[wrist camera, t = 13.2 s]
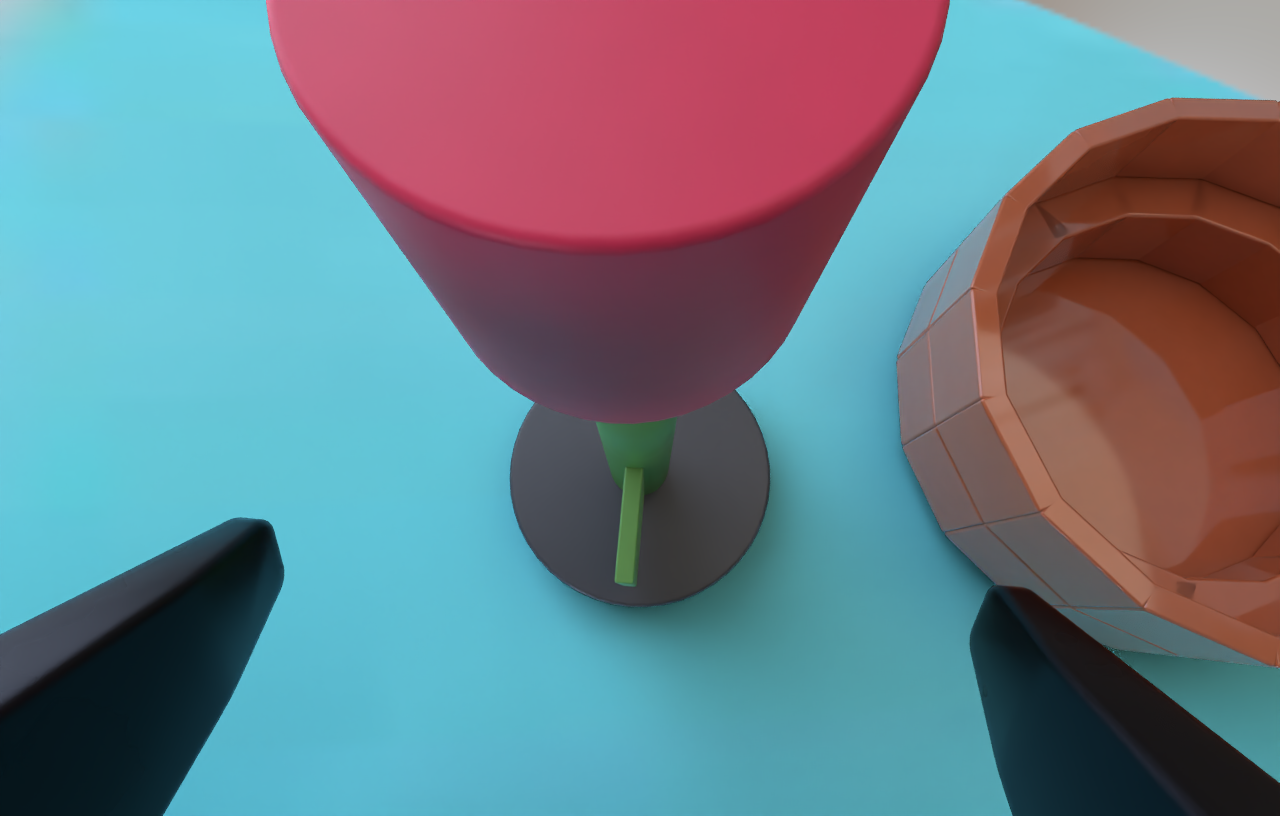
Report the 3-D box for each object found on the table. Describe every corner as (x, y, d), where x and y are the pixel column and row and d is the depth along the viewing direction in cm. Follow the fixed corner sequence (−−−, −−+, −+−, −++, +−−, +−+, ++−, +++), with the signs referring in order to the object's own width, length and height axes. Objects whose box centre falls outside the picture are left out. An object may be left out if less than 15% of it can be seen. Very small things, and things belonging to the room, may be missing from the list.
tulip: (536, 360, 17) (123, -517, 4) (764, 378, 17) (1223, -477, 3) (506, 594, 16) (-377, 588, 2) (754, 616, 16) (1484, 760, 2)
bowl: (1440, 549, 16) (1743, 532, 11) (1021, 724, 15) (1176, 777, 11) (1187, 166, 18) (1354, 33, 14) (819, 295, 18) (875, 196, 13)
